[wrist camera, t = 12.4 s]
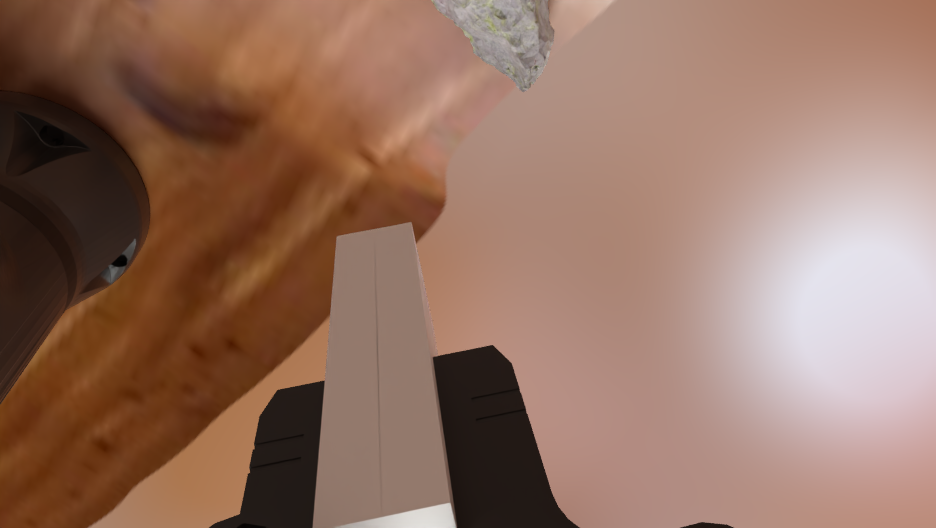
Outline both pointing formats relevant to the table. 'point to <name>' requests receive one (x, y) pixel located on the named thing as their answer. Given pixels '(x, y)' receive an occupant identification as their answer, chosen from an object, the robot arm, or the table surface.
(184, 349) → the table surface
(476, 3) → the rock
